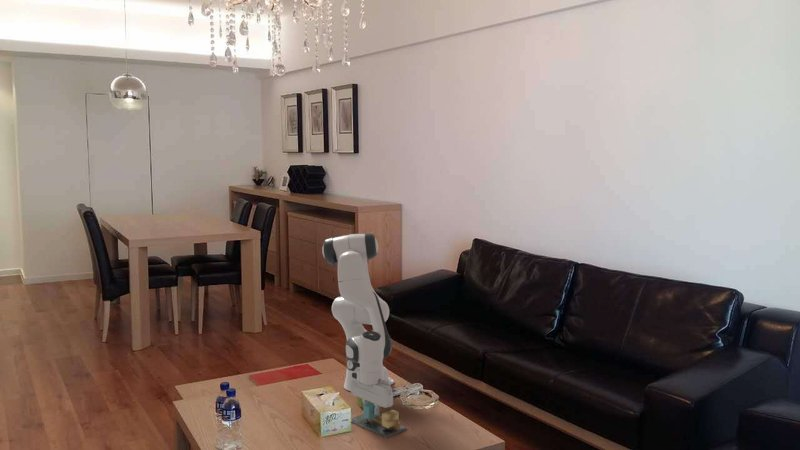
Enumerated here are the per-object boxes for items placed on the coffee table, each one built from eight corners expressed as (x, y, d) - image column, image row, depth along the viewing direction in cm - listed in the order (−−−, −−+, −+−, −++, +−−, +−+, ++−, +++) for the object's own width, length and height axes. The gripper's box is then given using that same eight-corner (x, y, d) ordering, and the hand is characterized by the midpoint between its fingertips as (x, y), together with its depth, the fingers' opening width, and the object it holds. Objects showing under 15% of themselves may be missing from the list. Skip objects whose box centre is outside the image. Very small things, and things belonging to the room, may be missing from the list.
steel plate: (369, 414, 258) (369, 411, 258) (406, 429, 244) (406, 426, 244) (349, 421, 251) (349, 418, 251) (386, 438, 237) (386, 435, 237)
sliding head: (374, 416, 252) (374, 401, 252) (379, 419, 250) (379, 403, 249) (363, 420, 248) (363, 405, 248) (368, 423, 246) (368, 407, 246)
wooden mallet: (365, 413, 256) (365, 398, 255) (400, 428, 242) (400, 412, 242) (354, 417, 252) (354, 402, 251) (389, 433, 238) (389, 416, 238)
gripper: (397, 381, 242) (397, 418, 244) (360, 367, 257) (360, 402, 258) (384, 385, 238) (384, 423, 239) (347, 371, 252) (347, 407, 254)
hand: (371, 412), depth 249 cm, fingers closed on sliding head, 3 cm apart
